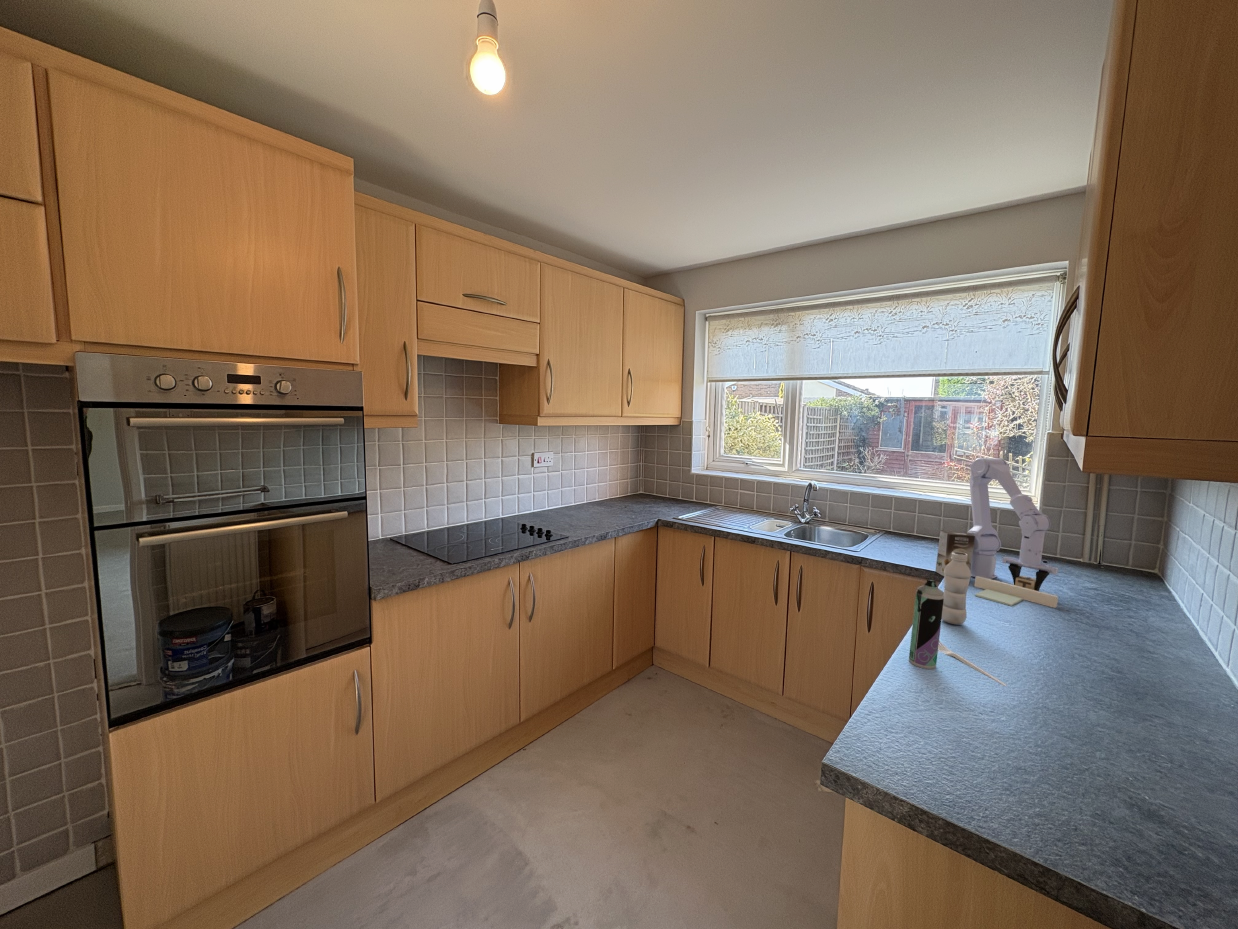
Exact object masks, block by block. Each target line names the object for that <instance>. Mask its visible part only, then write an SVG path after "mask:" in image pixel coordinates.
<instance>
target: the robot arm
mask: <svg viewBox="0 0 1238 929" xmlns="http://www.w3.org/2000/svg"><path fill="white" fill-rule="evenodd" d="M969 468H970V477H969V491H970V492H969V493H970V502H971V512H972V524H973V527H971V528H970V529H969V530H968V531H967V533H969V534H972V535H974V536H975V540H974V547H973V555H972V562H971V570H970V571H971V578H972V577H973V578H976V576H979V577H983V578H987V579H991V580H994V579H995V578H997V577H998V575H997V574H995V573H996V565H997V557H996V556H995V555H996V554H997V551H999V550H1000V549H1001V548H1002V542H1001V540H1000V537H999V534H998V531H997V530H996V529H995V528H994V527H993V526H992V515H991V507H990V504H991V503H990V496H989V484H990V483H991V482H992V481H993V480H995V481H997V482H998V484H999V485H1000V486H1001V487H1002V489H1003V490H1004V491H1005V492H1006V493H1007V495H1008V496H1009V497H1010V500H1009V504H1010V506H1011V507H1012V509H1013V510H1014V512H1015V514H1016V515H1017V517H1018V518H1019V519H1020V520H1018V525H1019V528H1020V529H1021V531H1020V533H1021V541H1020V542H1021V543H1020V550H1019V558H1015V557H1009V556H1004V557H1002V563H1003V564H1007V565H1008V566H1007V567H1008V570H1009V572H1010V575H1011V577H1012V582H1013V585H1015V581H1016V577H1019V576H1021V571H1022V568H1026V569H1032V570H1036V572H1035V579H1036V584H1035V589H1034V590H1035V591H1039V592H1040V588H1041V586H1042V584H1043V583H1044V581H1045V580H1046V579H1047V577H1048V576H1049V575H1050V574H1052V575H1057V574H1058V570H1059V567H1055V566H1051V565H1047V564H1045V563H1042V556H1043V551H1044V550H1043V549H1044V541H1045V537H1046V536H1045V534H1046V532H1047V531H1048V530H1050V528H1051V520H1050V517H1049V516H1048V515H1046V514H1045V513H1042V512H1041V511H1040V510H1039V509H1038V508H1037V506H1036V505H1035V503H1034V501H1033V498H1032V497H1031V496H1029V495H1028V494H1024V493H1023V492H1022V491H1021V489H1020V487H1019V486H1018V484H1017V482H1016V481H1015V478H1014V477H1013V476H1012V474H1011V472H1010V470H1011V467H1010V465H1009V464H1008V463H1007V461H1006V460H1005V459H1004V458H1001V457H996V458H994V457H977V458H976V459H974V460H973V461H972V462H971V463H970V466H969Z"/></svg>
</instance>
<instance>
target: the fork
mask: <svg viewBox="0 0 1238 929" xmlns="http://www.w3.org/2000/svg"><path fill="white" fill-rule="evenodd" d="M938 652H940V653H943V655H945V656H950V657H953V658H955V659H957V660H958V661H960V662H962V663H964V664H965V665H967V666H968V667H971V668H972V669H974V670H976V672H979V673H981V674H983V675H985V676H986V677H988V678H990V679H992V680H993V681H994V682H997V683H999V684H1000V685H1002V686H1004V687H1008V685H1007V684H1006V683H1004V682H1003V681H1001V680H999V679H998V678H996V677H995V676H993V675H991V674H990V673H988V672H987V671H985V670H983V669H982V668H980V667H979V666H977V665H975V664H974V663H972V662H971V661H970V660H967V659H965V657H963V656H961V655H959V654H958V653H956V652H953V651H952V650H950V649H949V648H948V647H946V646H945V645H944V644H943V643H942V642H941V641H940V640H939V645H938Z"/></svg>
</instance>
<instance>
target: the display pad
mask: <svg viewBox="0 0 1238 929" xmlns="http://www.w3.org/2000/svg"><path fill="white" fill-rule="evenodd" d="M974 596H975V597H978V598H981V599H985V600H988V601H992V602H995V603H998V604H1003V605H1005V606H1008V607H1009V606H1010V607H1013V606H1015V605H1016V604H1018V603H1020V602H1022V601H1023V598H1019V597H1015V596H1011V595H1008V594H1004V593H1000V592H996V591H993V590H989V589H983V590H981V591H979V592H977V593H974Z"/></svg>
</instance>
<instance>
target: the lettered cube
mask: <svg viewBox="0 0 1238 929" xmlns="http://www.w3.org/2000/svg"><path fill="white" fill-rule="evenodd" d="M1035 584H1036V578H1033V577H1029V576H1024V575H1020V576H1019V577H1016V581H1015V586H1019V587H1023V588H1027V589H1031V590H1034V589H1035Z"/></svg>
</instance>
